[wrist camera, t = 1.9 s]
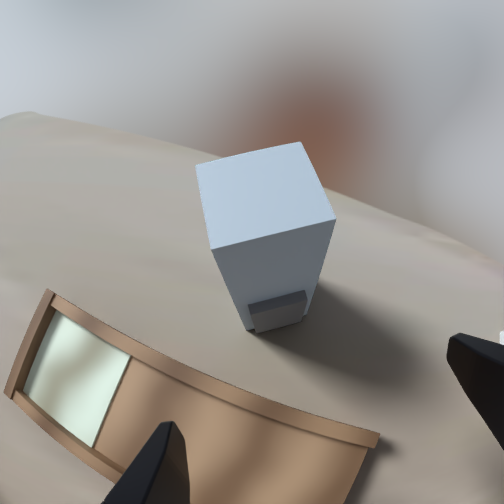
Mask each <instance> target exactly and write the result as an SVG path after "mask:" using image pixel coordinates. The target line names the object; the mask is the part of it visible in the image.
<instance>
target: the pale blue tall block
mask: <svg viewBox="0 0 504 504" xmlns="http://www.w3.org/2000/svg"><path fill="white" fill-rule="evenodd" d="M195 167H196V173H197V178H198V184H199V189H200V195H201V200H202V206H203V211H204V216H205V221H206V227H207V232H208V237H209V242H210V247H211V251H212V253H213V255H214V258H215V260H216V262H217V265H218V267H219V269H220V272H221V274H222V276H223V279H224V281H225V283H226V286H227V288H228V290H229V293H230V295H231V297H232V299H233V302H234V304H235V306H236V308H237V311H238V313H239V315H240V317H241V320H242V322H243V324H244V326H245V329H246V330H250V329H254V328H255V331H256V333H260V332H264V331H268V330H272V329H275V328H279V327H283V326H287V325H290V324H294V323H298V322H301V321H302V318H303V316H304V315H307V312H308V309H309V306H310V303H311V300H312V297H313V294H314V291H315V288H316V285H317V282H318V279H319V275H320V272H321V269H322V266H323V262H324V259H325V256H326V253H327V249H328V246H329V243H330V239H331V236H332V232H333V229H334V225H335V222H336V217H335V214H334V212H333V210H332V207H331V205H330V203H329V201H328V198H327V196H326V194H325V192H324V190H323V187H322V185H321V183H320V181H319V179H318V177H317V175H316V172H315V170H314V168H313V166H312V164H311V162H310V160H309V158H308V156H307V154H306V152H305V150H304V148H303V146H302V144H301V142H296V143H291V144H286V145H280V146H276V147H271V148H266V149H261V150H257V151H252V152H247V153H243V154H239V155H234V156H230V157H226V158H222V159H218V160H214V161H210V162H206V163H202V164H198V165H195Z"/></svg>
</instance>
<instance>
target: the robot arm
mask: <svg viewBox="0 0 504 504" xmlns="http://www.w3.org/2000/svg"><path fill="white" fill-rule="evenodd" d="M447 361H448V364H449V365H450V367H451V369H452V370H453V372H454V374H455V376H456V377H457V379H458V381H459V383H460V385H461V386H462V388H463V390H464V392H465V393H466V395H467V396H468V398H469V399H470V401H471V402H472V404H473V405H474V407H475V408H476V409H477V411H478V412H479V414H480V415H481V417H482V418H483V420H484V421H485V423H486V424H487V426H488V427H489V429H490V430H491V432H492V433H493V435H494V436H495V438H496V439H497V441H498V442H499V444H500V445H501V447H502V449H503V450H504V345H502V344H498V343H495V342H491V341H488V340H484V339H481V338H477V337H474V336H470V335H467V334H463V333H458V334H456V335H454V336H452V337H450V339H449V343H448V349H447ZM101 504H190V479H189V471H188V462H187V453H186V443H185V439H184V436H183V435H182V433H181V431H180V430H179V428H178V426H177V425H176V423H175V422H174V421H165V422H161V423H160V424H159V425H158V426H157V428H156V429H155V430H154V432H153V433H152V435H151V436H150V437H149V439H148V440H147V442H146V443H145V444H144V446H143V447H142V448H141V450H140V451H139V453H138V454H137V455H136V457H135V458H134V460H133V461H132V462H131V464H130V465H129V466H128V468H127V469H126V471H125V472H124V473H123V475H122V476H121V477H120V479H119V480H118V481H117V483H116V484H115V486H114V487H113V488H112V490H111V491H110V492H109V494H108V495H107V496H106V498H105V499H104V501H103V502H102V503H101Z"/></svg>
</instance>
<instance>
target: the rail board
mask: <svg viewBox="0 0 504 504" xmlns="http://www.w3.org/2000/svg"><path fill="white" fill-rule="evenodd" d="M4 393H5V394H6V395H7V396H8V397H9V398H10V399H12V400H13V401H14V402H15V403H16V404H17V405H18V406H19V407H20V408H21V409H22V410H23V411H24V412H25V413H26V414H27V415H28V416H29V417H30V418H31V419H32V420H33V421H34V422H36V423H37V424H38V425H39V426H40V427H41V428H42V429H43V430H44V431H46V432H47V433H48V434H49V435H50V436H51V437H53V438H54V439H55V440H56V441H57V442H59V443H60V444H61V445H62V446H63V447H65V448H66V449H67V450H68V451H70V452H71V453H72V454H74V455H75V456H76V457H78V458H79V459H80V460H82V461H83V462H84V463H86V464H87V465H88V466H90V467H91V468H93V469H94V470H95V471H97V472H98V473H100V474H101V475H103V476H104V477H106V478H107V479H109V480H110V481H112V482H113V483H115V484H116V483H117V481H118V480H119V479H120V477H121V476H122V475H123V473H124V472H125V471H126V469H127V468H128V466H129V465H130V464H131V462H132V461H133V460H134V458H135V457H136V455H137V454H138V453H139V451H140V450H141V448H142V447H143V446H144V444H145V443H146V442H147V440H148V439H149V437H150V436H151V435H152V433H153V432H154V430H155V429H156V428H157V426H158V425H159V424H160V423H161V422H165V421H174V422H175V423H176V425H177V426H178V428H179V430H180V431H181V433H182V435H183V436H184V439H185V443H186V453H187V462H188V471H189V479H190V504H343V503H344V501H345V499H346V497H347V495H348V493H349V491H350V489H351V487H352V485H353V482H354V480H355V478H356V476H357V474H358V472H359V469H360V467H361V465H362V462H363V460H364V458H365V455H366V453H367V450H368V448H369V447H371V448H375V446H376V444H377V441H378V439H379V436H380V433H377V432H373V431H370V430H367V429H363V428H359V427H355V426H352V425H348V424H344V423H341V422H337V421H334V420H330V419H327V418H324V417H320V416H317V415H314V414H311V413H308V412H304V411H301V410H298V409H295V408H292V407H289V406H286V405H284V404H281V403H278V402H275V401H272V400H269V399H267V398H264V397H261V396H259V395H256V394H253V393H251V392H248V391H246V390H243V389H241V388H238V387H236V386H233V385H231V384H228V383H226V382H223V381H221V380H219V379H216V378H214V377H212V376H209V375H207V374H205V373H202V372H200V371H198V370H196V369H193V368H191V367H189V366H187V365H185V364H183V363H180V362H178V361H176V360H174V359H172V358H170V357H168V356H166V355H164V354H162V353H160V352H158V351H156V350H154V349H152V348H150V347H148V346H146V345H144V344H142V343H140V342H138V341H136V340H134V339H132V338H131V337H129V336H127V335H125V334H123V333H121V332H120V331H118V330H116V329H114V328H112V327H111V326H109V325H107V324H105V323H104V322H102V321H100V320H98V319H97V318H95V317H93V316H92V315H90V314H88V313H86V312H85V311H83V310H82V309H80V308H78V307H77V306H75V305H73V304H72V303H70V302H69V301H67V300H65V299H64V298H62V297H60V296H59V295H57V294H55V293H54V292H52V291H51V290H49V289H46V291H45V293H44V295H43V297H42V299H41V301H40V303H39V305H38V307H37V309H36V312H35V314H34V316H33V318H32V320H31V323H30V325H29V327H28V329H27V332H26V334H25V336H24V339H23V341H22V344H21V346H20V348H19V351H18V354H17V356H16V359H15V361H14V364H13V367H12V369H11V372H10V375H9V378H8V381H7V383H6V386H5V389H4Z"/></svg>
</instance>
